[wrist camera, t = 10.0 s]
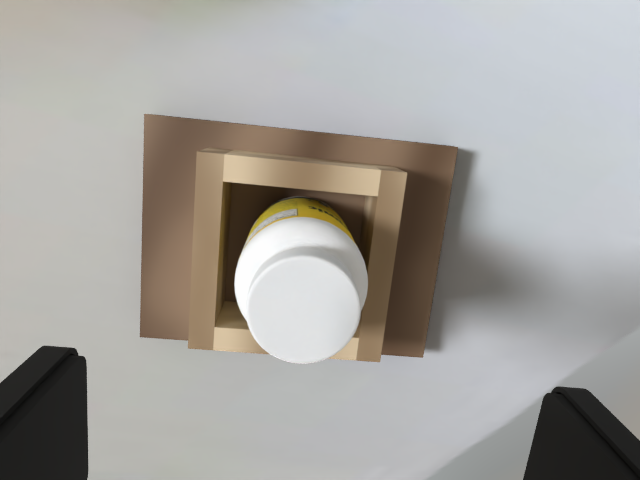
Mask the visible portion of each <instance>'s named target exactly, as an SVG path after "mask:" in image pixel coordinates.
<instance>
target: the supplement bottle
mask: <svg viewBox="0 0 640 480" xmlns="http://www.w3.org/2000/svg"><path fill="white" fill-rule="evenodd" d="M234 286H235V295H236V299H237V303H238V306H239V309H240V311H241V313H242V315H243V316H244V318H245V319H246V321H247V323H248V327H249V329H250V332H251V333H252V335H253V337H254V339H255V340H256V342H257V343H258V344H259V345H260V346H261V347H262V348H263V349H264V350H265V351H266V352H268V353H269V354H271V355H272V356H274V357H276V358H278V359H281V360H283V361H286V362H290V363H297V364H310V363H315V362H319V361H322V360H325V359H328V358H330V357H332V356H333V355H335V354H336V353H338V352H339V351H341V350H342V349H343V348H344V347H345V346H346V345H347V344H348V343H349V341H350V340H351V339H352V337H353V335H354V334H355V332H356V330H357V327H358V324H359V321H360V316H361V310H362V308H363V306H364V303H365V300H366V296H367V289H368V276H367V270H366V266H365V261H364V259H363V257H362V255H361V252H360V250H359V248H358V246H357V245H356V243H355V241H354V239H353V237H352V235H351V234H350V232H349V230H348V228H347V226H346V225H345V223H344V221H343V220H342V218H341V217H340V216H339V214H338V213H337V212H336V211H335V210H334V209H333V208H331V207H330V206H329V205H327V204H326V203H324V202H322V201H320V200H317V199H314V198H311V197H304V196H295V197H289V198H285V199H282V200H279V201H277V202H275V203H273V204H271V205H270V206H269V207H267V208H266V209H265V210H264V211H263V212H262V213H261V214H260V215H259V216H258V217H257V219H256V220H255V222H254V223H253V225H252V228H251V230H250V233H249V235H248V238H247V240H246V243H245V245H244V248H243V250H242V253H241V255H240V257H239V260H238V264H237V268H236V272H235V283H234Z"/></svg>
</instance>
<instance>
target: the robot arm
mask: <svg viewBox="0 0 640 480" xmlns="http://www.w3.org/2000/svg"><path fill="white" fill-rule="evenodd" d="M87 477H88V426H87V367H86V359H85V357H84V356H78V353H77V350H76V349H75V348H67V347H55V346H42V347H41V348H39V349H38V350H37V351H36V352H35V353H34V354H33V355H31V356H30V357H29V358H28V359H27V360H26V361H25V362H24V363H22V364H21V365H20V366H19V367H18V368H17V369H16V370H15V371H13V372H12V373H11V374H10V375H9V376H8V377H7V378H6V379H4V380H3V381H2V382H1V383H0V480H87ZM523 480H640V441H639V440H638V439H637V438H636V437H635V436H634V435H633V434H632V433H631V432H630V431H629V430H628V429H627V428H626V427H625V426H624V425H623V424H622V423H621V422H620V421H619V420H618V419H617V418H616V417H615V416H614V415H613V414H612V413H611V412H610V411H609V410H608V409H607V408H606V407H605V406H604V405H603V404H602V403H601V402H599V400H598V399H597V398H596V397H595V396H594V395H593V394H592V393H591V392H589V391H588V390H586V389H581V388H568V387H555V388H554V389H553V390H552V392H551V393H547V394H546V395H545V396H544V398H543V401H542V405H541V410H540V414H539V418H538V422H537V426H536V430H535V434H534V438H533V442H532V446H531V450H530V454H529V458H528V462H527V466H526V470H525V474H524V478H523Z"/></svg>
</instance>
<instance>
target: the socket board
mask: <svg viewBox="0 0 640 480" xmlns="http://www.w3.org/2000/svg"><path fill="white" fill-rule="evenodd" d="M457 150H458V147H454V146H446V145H437V144H427V143H418V142H408V141H399V140H390V139H380V138H371V137H361V136H352V135H342V134H333V133H323V132H314V131H304V130H295V129H285V128H276V127H266V126H257V125H247V124H238V123H229V122H219V121H210V120H200V119H191V118H181V117H172V116H162V115H153V114H144V161H143V212H142V262H141V313H140V337H147V338H161V339H174V340H188V348H189V349H203V350H217V351H231V352H245V353H259V354H269V353H268V352H266V351H265V350H264V349H263V348H262V347H261V346H260V345H259V344H258V343H257V342H256V340H255V339H254V337H253V335H252V333H251V332H250V329H249V327H248V323H247V321H246V319H245V318H244V316H243V315H242V313H241V311H240V309H239V306H238V303H237V299H236V295H235V286H234V283H235V272H236V268H237V264H238V260H239V257H240V255H241V253H242V250H243V248H244V245H245V243H246V240H247V238H248V235H249V233H250V230H251V228H252V225H253V223H254V222H255V220H256V219H257V217H258V216H259V215H260V214H261V213H262V212H263V211H264V210H265V209H266V208H267V207H269V206H270V205H271V204H273V203H275V202H277V201H279V200H282V199H285V198H289V197H295V196H304V197H311V198H314V199H317V200H320V201H322V202H324V203H326V204H327V205H329V206H330V207H331V208H333V209H334V210H335V211H336V212H337V213H338V214H339V216H340V217H341V218H342V220H343V221H344V223H345V225H346V226H347V228H348V230H349V232H350V234H351V235H352V237H353V239H354V241H355V243H356V245H357V246H358V248H359V250H360V252H361V255H362V257H363V259H364V261H365V266H366V270H367V276H368V289H367V296H366V300H365V303H364V306H363V308H362V310H361V316H360V321H359V324H358V327H357V330H356V332H355V334H354V335H353V337H352V339H351V340H350V341H349V343H348V344H347V345H346V346H345V347H344V348H343V349H342V350H341V351H339V352H338V353H336V354H335V355H333V356H332V357H330V358H329V359H343V360H357V361H371V362H380V358H381V355H395V356H409V357H422V358H423V354H424V348H425V342H426V336H427V330H428V324H429V318H430V312H431V306H432V300H433V294H434V288H435V282H436V276H437V270H438V264H439V258H440V252H441V246H442V240H443V234H444V228H445V222H446V216H447V210H448V204H449V198H450V192H451V186H452V180H453V174H454V168H455V162H456V156H457Z"/></svg>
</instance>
